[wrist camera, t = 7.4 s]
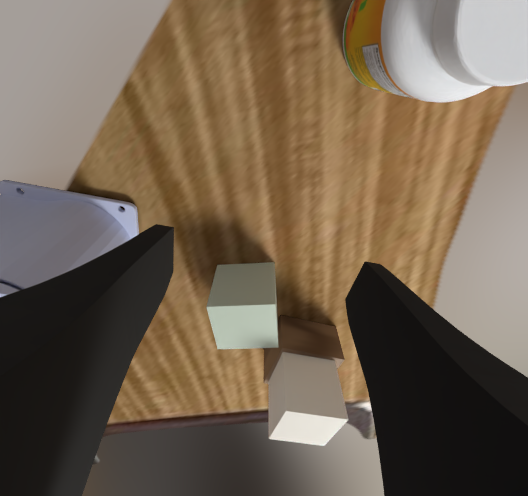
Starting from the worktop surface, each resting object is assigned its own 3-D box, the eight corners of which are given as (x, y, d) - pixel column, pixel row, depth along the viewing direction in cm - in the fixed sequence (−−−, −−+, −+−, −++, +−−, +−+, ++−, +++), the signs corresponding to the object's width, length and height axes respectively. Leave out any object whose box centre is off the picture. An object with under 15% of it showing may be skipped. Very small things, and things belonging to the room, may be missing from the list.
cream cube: (268, 381, 27) (268, 438, 23) (282, 351, 24) (285, 410, 20) (315, 388, 27) (324, 445, 23) (334, 360, 25) (348, 419, 21)
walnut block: (264, 348, 30) (263, 383, 27) (280, 313, 27) (282, 347, 24) (313, 357, 31) (319, 392, 28) (335, 324, 28) (344, 359, 25)
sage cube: (225, 304, 26) (217, 349, 22) (217, 264, 24) (206, 306, 19) (276, 302, 26) (278, 347, 22) (274, 261, 23) (275, 304, 19)
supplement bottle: (414, -77, 12) (697, -353, 4) (463, 31, 14) (713, -12, 6) (320, 31, 14) (385, -13, 6) (374, 110, 16) (475, 153, 8)
